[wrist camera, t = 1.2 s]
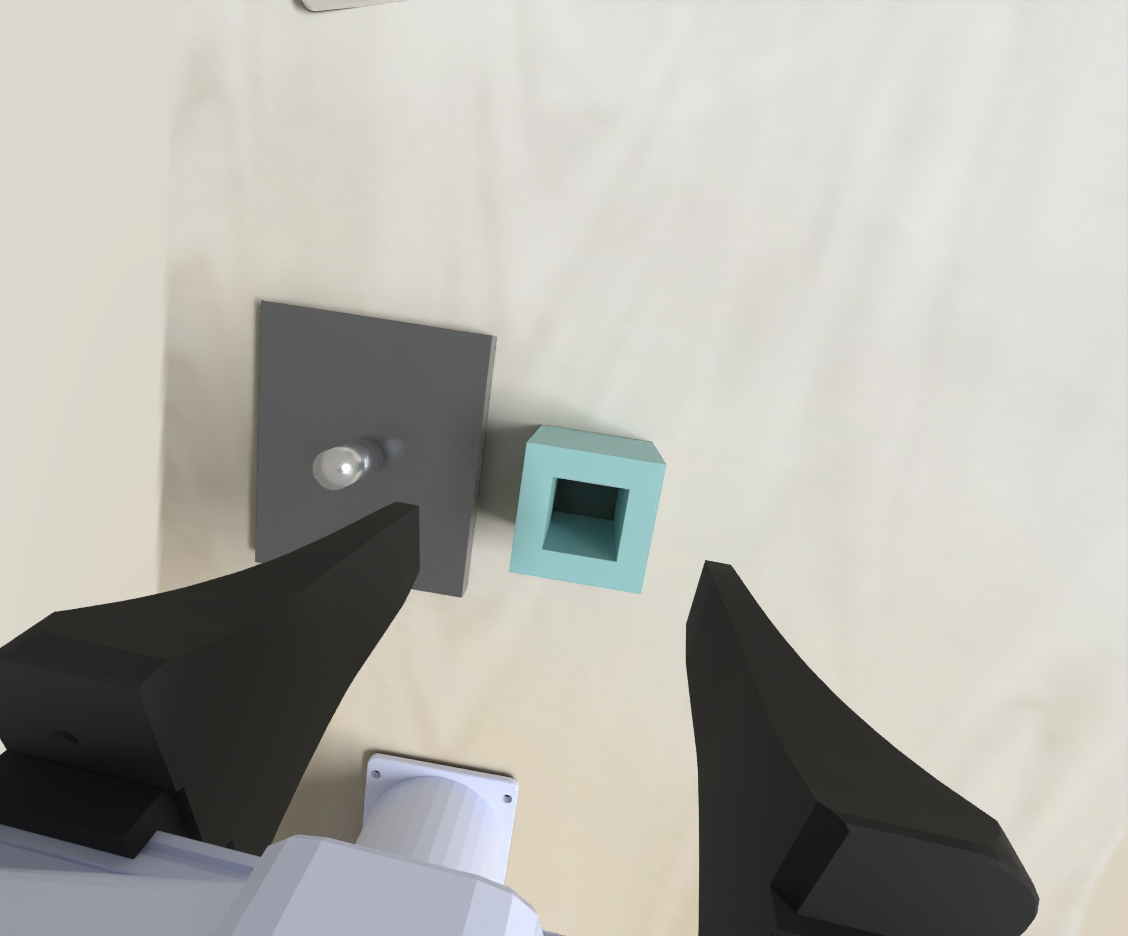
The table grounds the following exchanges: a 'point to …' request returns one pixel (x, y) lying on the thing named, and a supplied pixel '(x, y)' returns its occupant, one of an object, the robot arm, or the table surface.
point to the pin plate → (370, 432)
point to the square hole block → (582, 541)
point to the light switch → (342, 4)
